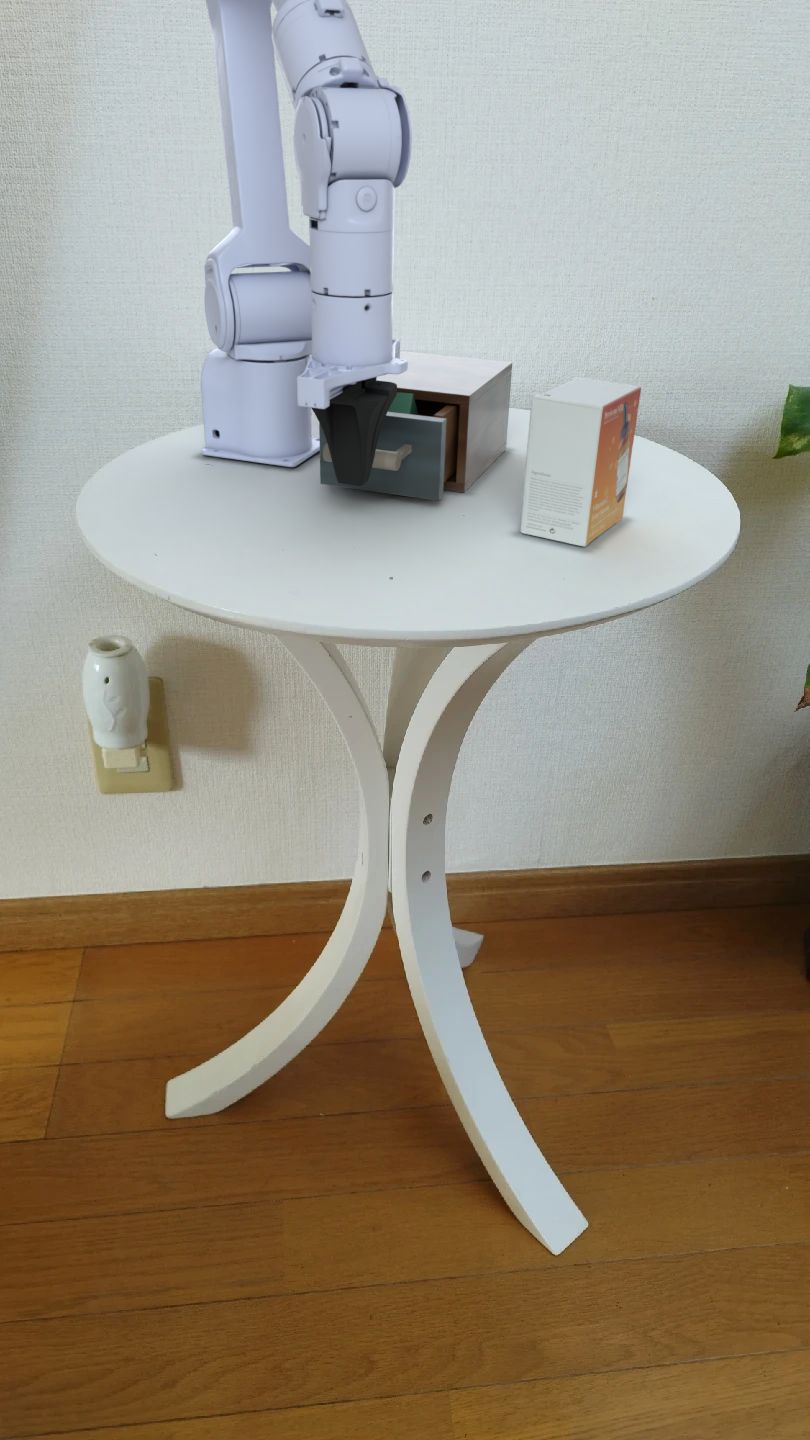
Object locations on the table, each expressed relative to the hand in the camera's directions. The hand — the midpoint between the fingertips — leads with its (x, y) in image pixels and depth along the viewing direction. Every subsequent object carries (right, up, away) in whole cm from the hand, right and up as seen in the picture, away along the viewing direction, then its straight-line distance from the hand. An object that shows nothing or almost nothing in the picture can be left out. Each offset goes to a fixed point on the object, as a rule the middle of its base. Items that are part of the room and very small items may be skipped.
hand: (352, 482), depth 77 cm
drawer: (+3, +2, +9) cm, 10 cm away
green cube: (+2, +4, +7) cm, 9 cm away
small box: (+17, -3, +3) cm, 18 cm away
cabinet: (+6, +6, +16) cm, 18 cm away
